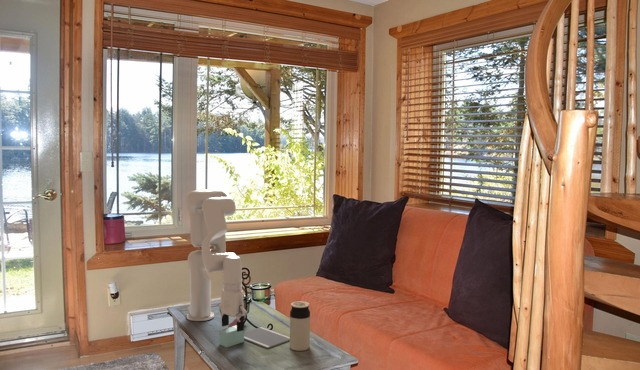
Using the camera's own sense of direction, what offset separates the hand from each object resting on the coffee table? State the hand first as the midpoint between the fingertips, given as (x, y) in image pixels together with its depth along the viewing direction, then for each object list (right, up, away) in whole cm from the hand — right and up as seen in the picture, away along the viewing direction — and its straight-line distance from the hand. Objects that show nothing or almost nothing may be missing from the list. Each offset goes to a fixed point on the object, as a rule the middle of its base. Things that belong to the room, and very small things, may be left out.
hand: (232, 328), depth 226 cm
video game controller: (-1, -5, +22) cm, 22 cm away
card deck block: (0, -7, +1) cm, 7 cm away
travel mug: (+27, -7, -3) cm, 28 cm away
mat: (+12, -6, +7) cm, 15 cm away
